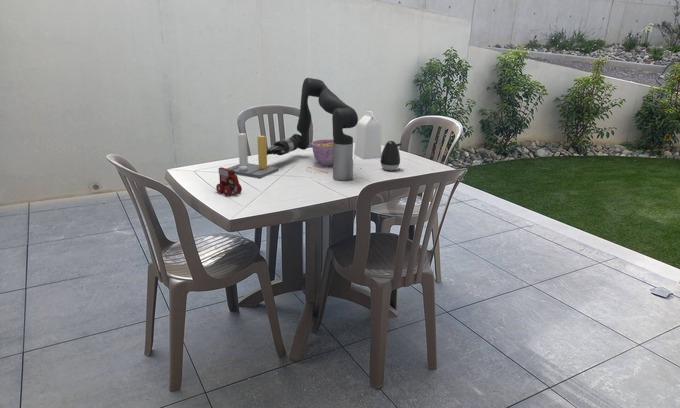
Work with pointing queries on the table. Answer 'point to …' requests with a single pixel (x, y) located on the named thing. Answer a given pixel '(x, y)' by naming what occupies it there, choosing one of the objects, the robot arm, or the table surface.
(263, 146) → the lever amber
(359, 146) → the milk
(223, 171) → the toy fire truck
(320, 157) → the bowl of food
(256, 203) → the table surface
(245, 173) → the panel
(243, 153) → the lever ivory
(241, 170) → the button grey
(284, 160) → the table surface
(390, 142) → the pump dispenser
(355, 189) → the table surface
